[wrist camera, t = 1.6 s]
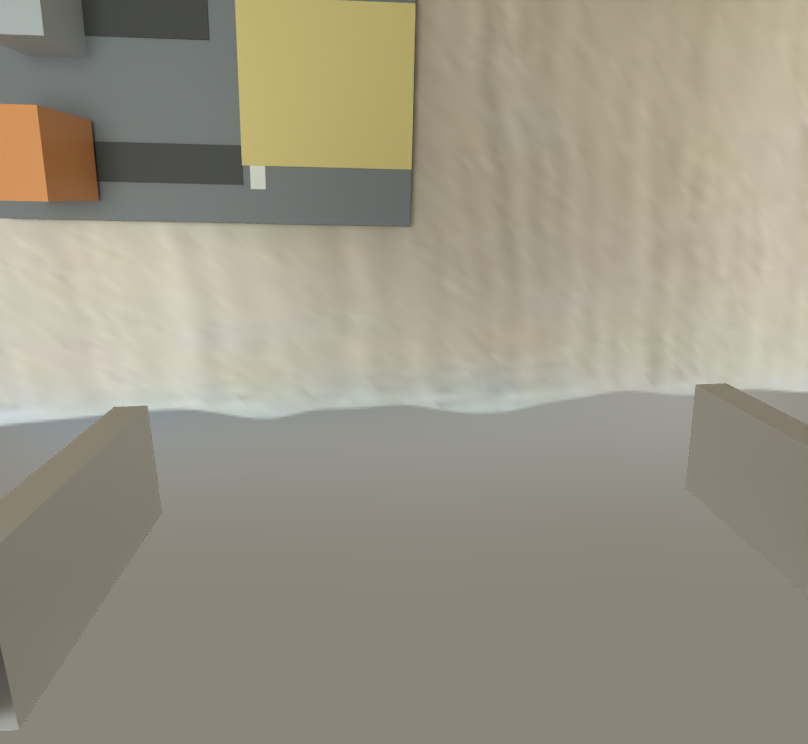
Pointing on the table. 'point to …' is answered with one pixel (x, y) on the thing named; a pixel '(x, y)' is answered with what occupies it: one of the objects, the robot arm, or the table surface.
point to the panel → (169, 118)
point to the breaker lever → (45, 155)
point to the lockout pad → (326, 83)
